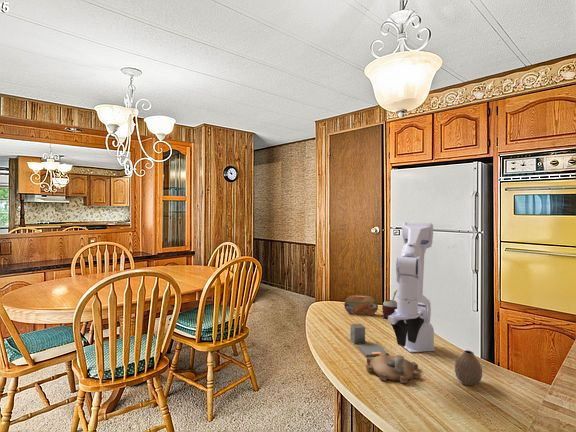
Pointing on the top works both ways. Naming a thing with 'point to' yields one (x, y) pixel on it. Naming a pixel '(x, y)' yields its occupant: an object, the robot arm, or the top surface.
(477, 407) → the top surface
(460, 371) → the vase
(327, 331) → the top surface
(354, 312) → the tin
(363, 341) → the link block
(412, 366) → the sprocket wheel
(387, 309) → the mate gourd
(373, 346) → the mat
